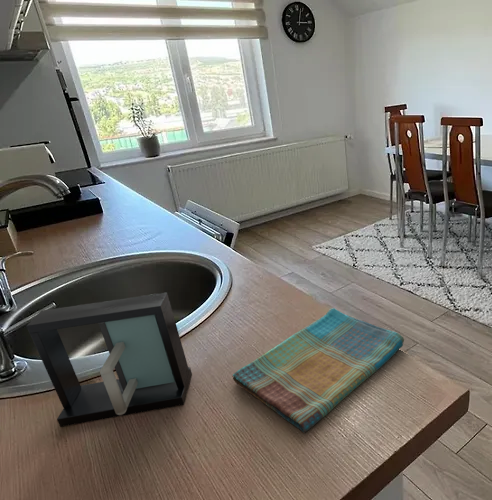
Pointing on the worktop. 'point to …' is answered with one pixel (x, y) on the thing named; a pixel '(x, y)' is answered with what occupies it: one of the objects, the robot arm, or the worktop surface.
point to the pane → (133, 358)
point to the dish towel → (318, 367)
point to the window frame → (96, 396)
